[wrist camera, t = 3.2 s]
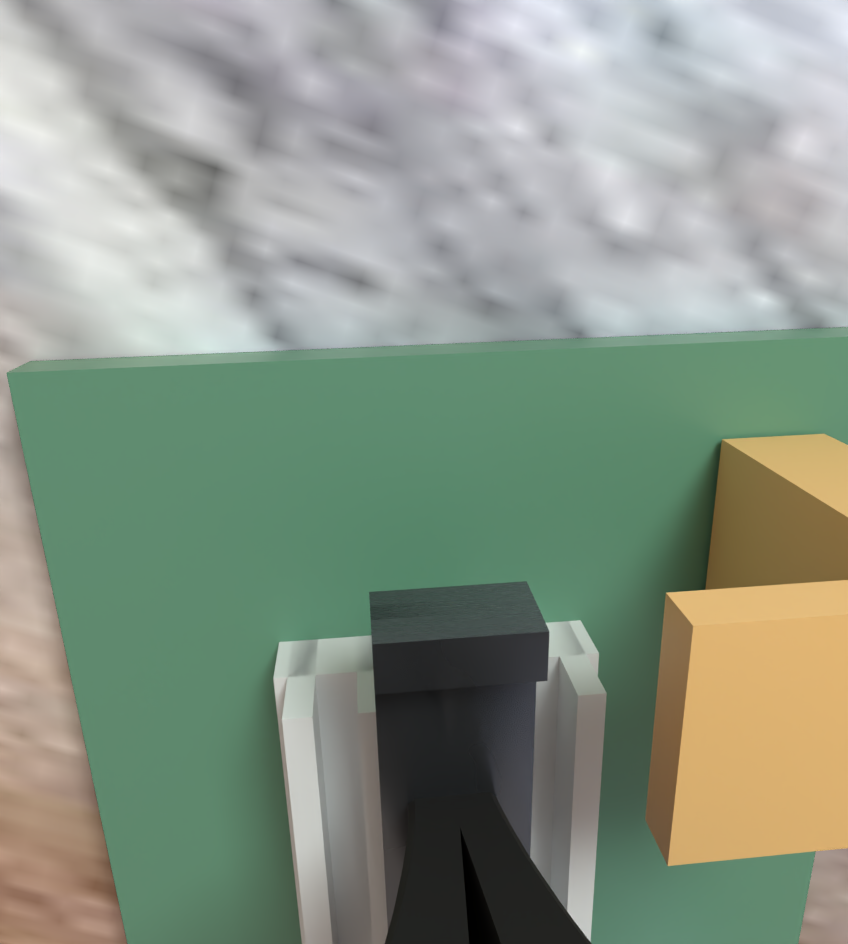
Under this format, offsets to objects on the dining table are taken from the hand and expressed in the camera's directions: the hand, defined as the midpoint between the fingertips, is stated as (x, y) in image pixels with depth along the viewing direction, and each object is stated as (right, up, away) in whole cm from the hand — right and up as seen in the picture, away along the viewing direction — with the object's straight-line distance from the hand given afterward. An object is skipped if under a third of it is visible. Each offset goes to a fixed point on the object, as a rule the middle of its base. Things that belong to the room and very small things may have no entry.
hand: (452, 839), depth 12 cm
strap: (0, -2, +2) cm, 2 cm away
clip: (+5, +4, +2) cm, 7 cm away
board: (0, 0, +5) cm, 5 cm away
